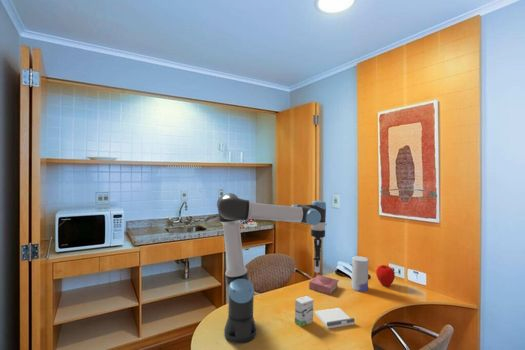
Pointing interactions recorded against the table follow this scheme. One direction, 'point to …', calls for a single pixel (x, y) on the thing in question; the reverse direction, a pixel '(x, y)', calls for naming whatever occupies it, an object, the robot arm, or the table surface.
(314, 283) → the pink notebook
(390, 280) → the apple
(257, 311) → the table surface
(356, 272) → the container
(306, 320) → the ink box
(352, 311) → the table surface
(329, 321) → the white flat box
